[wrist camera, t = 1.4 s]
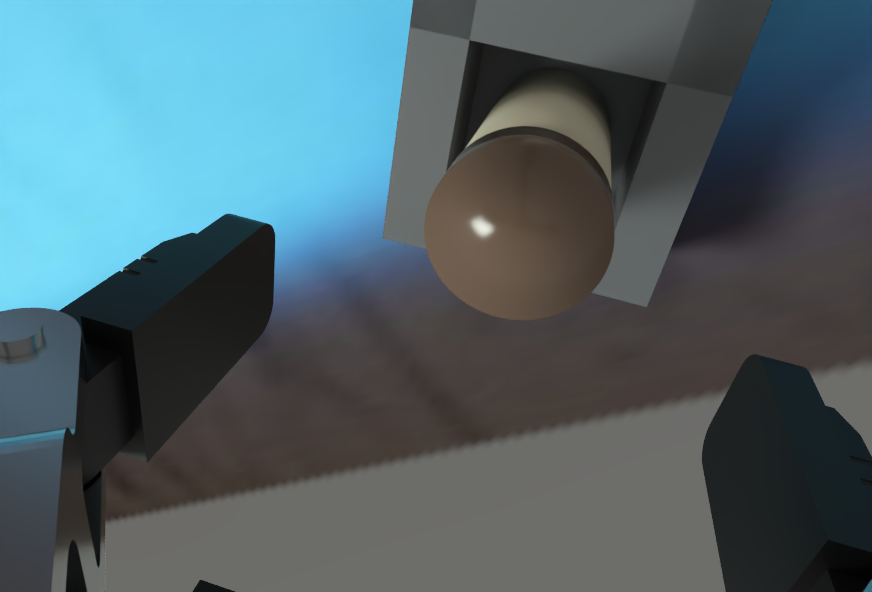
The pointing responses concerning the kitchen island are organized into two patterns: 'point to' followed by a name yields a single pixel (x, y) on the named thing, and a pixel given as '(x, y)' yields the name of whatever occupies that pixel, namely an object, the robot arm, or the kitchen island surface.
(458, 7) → the fuse block
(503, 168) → the cylinder
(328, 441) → the kitchen island surface
